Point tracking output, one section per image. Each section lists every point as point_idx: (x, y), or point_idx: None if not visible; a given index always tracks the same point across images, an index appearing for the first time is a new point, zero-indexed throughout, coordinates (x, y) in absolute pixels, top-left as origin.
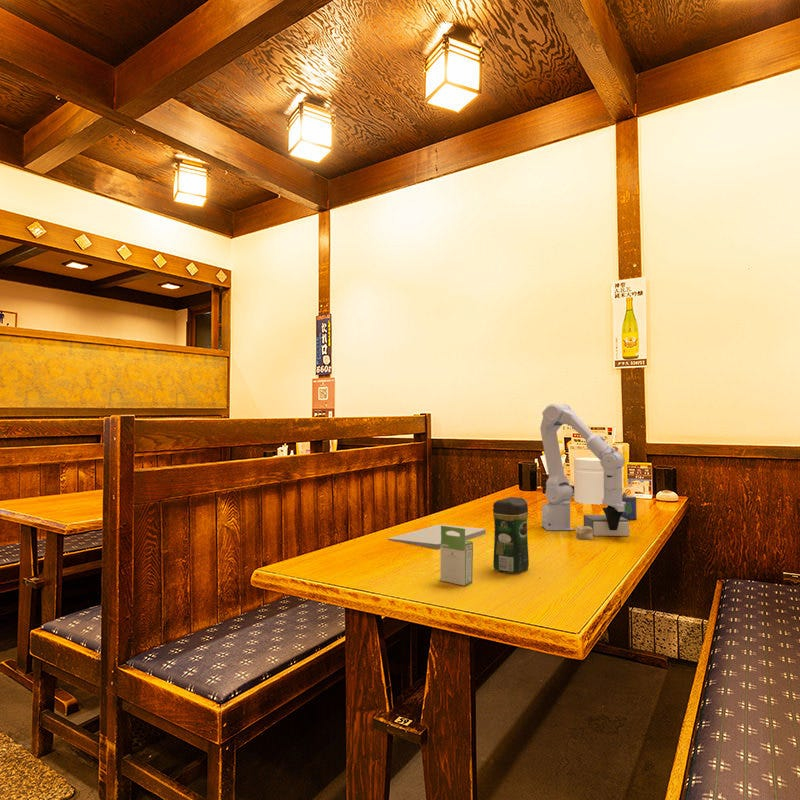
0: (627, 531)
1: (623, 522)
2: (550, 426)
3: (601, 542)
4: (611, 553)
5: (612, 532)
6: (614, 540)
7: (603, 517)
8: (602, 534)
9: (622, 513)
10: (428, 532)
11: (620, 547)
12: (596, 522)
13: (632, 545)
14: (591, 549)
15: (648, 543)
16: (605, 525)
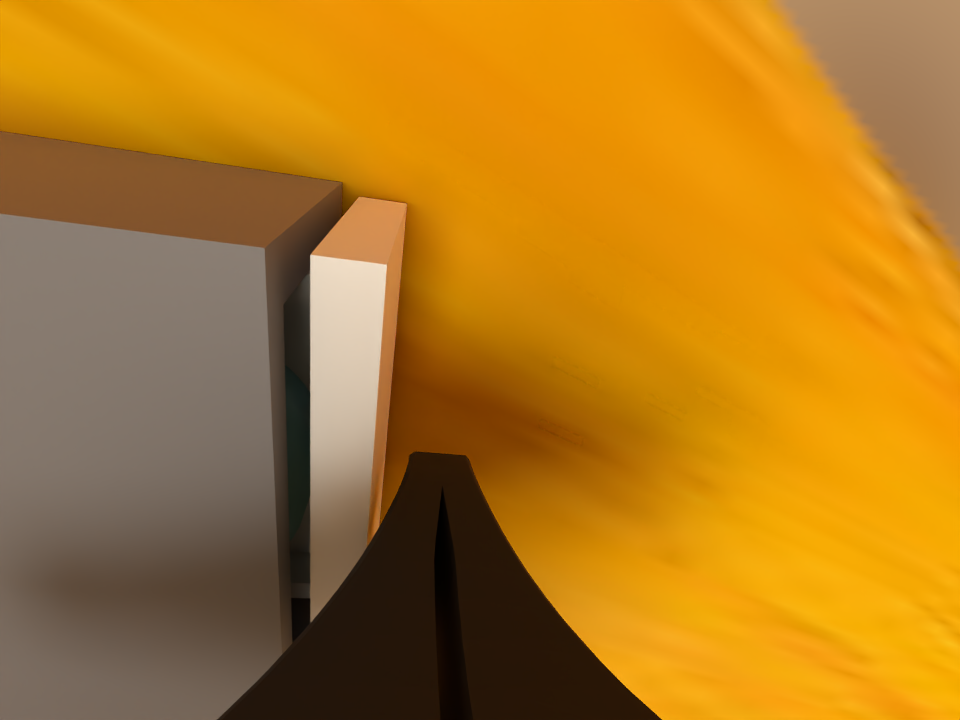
0: (399, 249)
1: (372, 382)
2: None
3: (626, 594)
4: (932, 640)
5: (383, 443)
6: (583, 474)
7: (28, 607)
8: (379, 522)
9: (645, 706)
10: None
11: (834, 533)
12: None
13: (829, 409)
14: (785, 698)
15: (846, 167)
16: None
